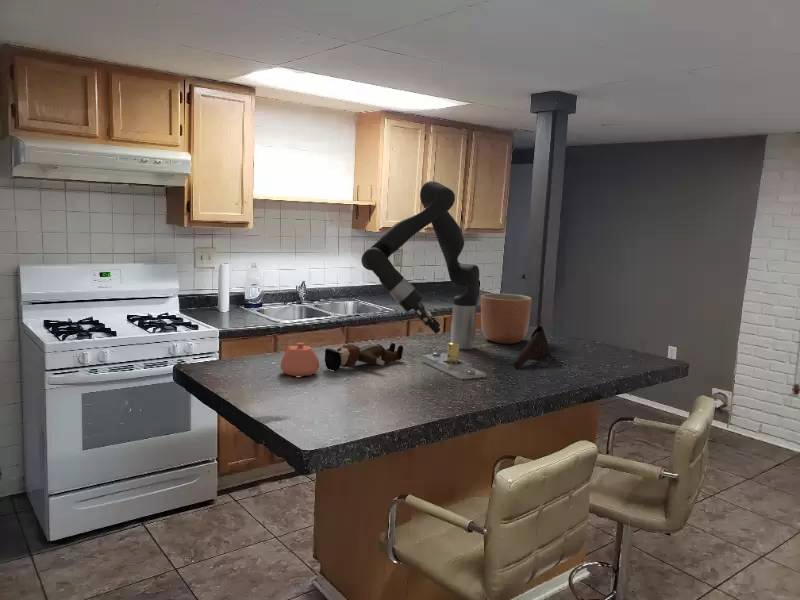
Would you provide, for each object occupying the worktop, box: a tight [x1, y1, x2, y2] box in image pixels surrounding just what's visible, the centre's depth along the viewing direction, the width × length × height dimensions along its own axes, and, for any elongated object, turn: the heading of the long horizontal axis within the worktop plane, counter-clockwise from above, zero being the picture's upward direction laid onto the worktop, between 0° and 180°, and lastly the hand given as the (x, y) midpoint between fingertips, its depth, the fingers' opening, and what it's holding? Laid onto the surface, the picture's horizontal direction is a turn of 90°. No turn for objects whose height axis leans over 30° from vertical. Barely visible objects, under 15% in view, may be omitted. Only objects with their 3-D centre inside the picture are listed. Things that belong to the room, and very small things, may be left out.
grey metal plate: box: [421, 351, 487, 381], centre depth 217 cm, size 26×10×3 cm, turn 28°
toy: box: [324, 342, 404, 373], centre depth 217 cm, size 24×10×30 cm
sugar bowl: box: [280, 342, 320, 377], centre depth 203 cm, size 12×14×10 cm
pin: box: [446, 341, 460, 365], centre depth 216 cm, size 4×4×9 cm
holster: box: [513, 325, 552, 369], centre depth 232 cm, size 5×16×25 cm
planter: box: [480, 292, 532, 345], centre depth 267 cm, size 21×21×19 cm
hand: (438, 329), depth 215 cm, fingers open, 8 cm apart
